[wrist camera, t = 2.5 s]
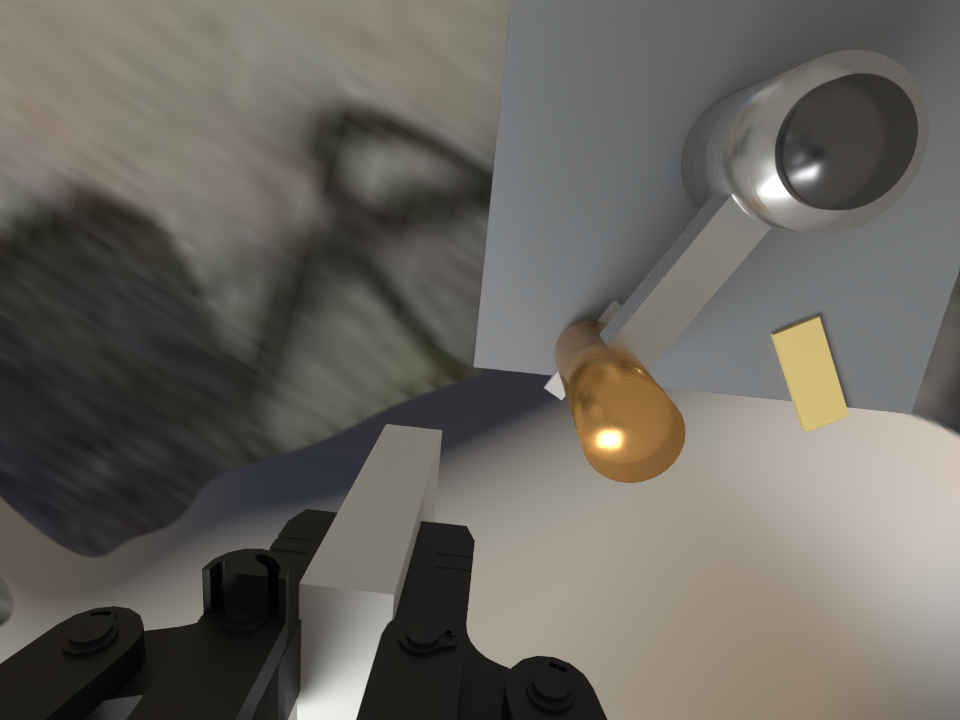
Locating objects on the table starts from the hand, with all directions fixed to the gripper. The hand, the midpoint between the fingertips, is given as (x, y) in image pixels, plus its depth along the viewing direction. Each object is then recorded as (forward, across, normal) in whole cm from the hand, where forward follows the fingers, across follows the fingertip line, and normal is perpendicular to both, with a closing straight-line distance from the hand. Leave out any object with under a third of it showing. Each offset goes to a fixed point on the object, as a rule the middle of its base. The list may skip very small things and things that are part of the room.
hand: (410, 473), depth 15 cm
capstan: (+11, +9, +6) cm, 15 cm away
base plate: (+13, +11, +10) cm, 20 cm away
